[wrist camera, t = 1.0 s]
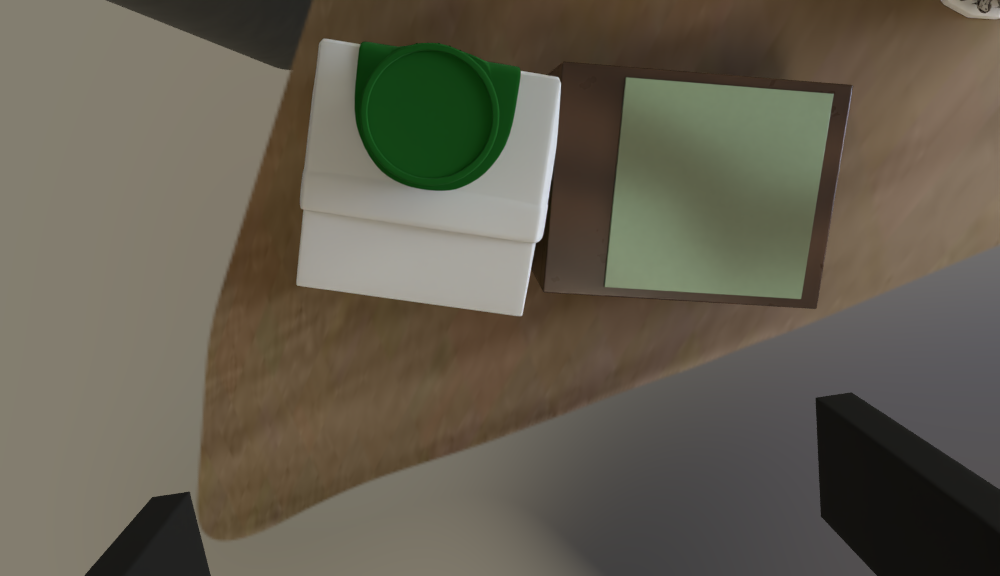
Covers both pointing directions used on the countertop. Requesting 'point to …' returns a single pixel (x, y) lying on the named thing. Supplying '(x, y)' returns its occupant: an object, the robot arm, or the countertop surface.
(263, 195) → the countertop surface
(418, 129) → the milk carton
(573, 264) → the brown wooden stand
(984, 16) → the white patterned cylinder
